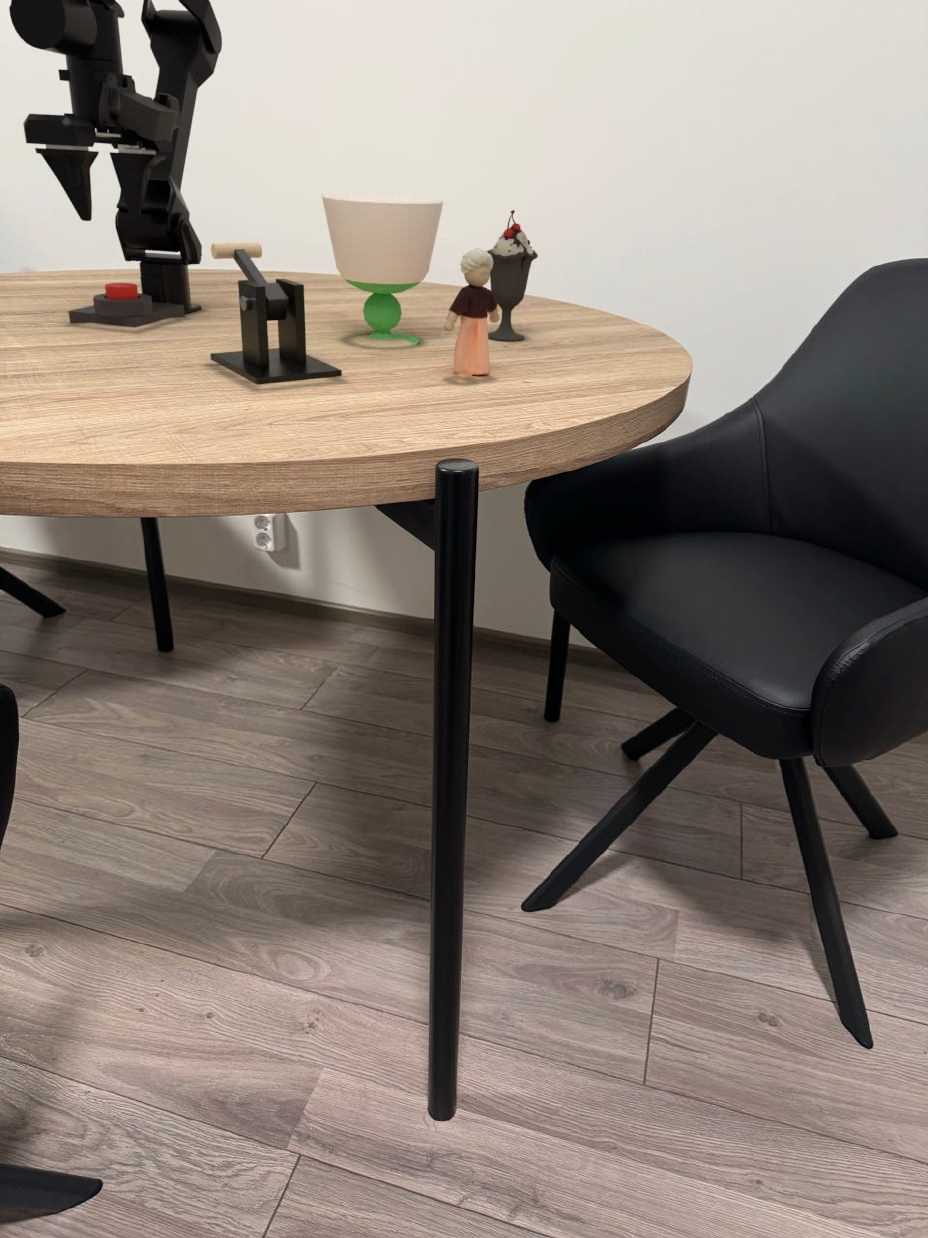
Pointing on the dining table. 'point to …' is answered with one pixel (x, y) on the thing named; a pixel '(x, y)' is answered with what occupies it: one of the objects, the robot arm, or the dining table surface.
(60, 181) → the robot arm
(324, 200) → the cup
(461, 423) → the dining table surface
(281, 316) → the lever
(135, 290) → the power button
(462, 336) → the grandmother figurine
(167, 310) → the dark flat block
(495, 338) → the sundae
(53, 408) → the dining table surface
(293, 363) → the switch bracket
